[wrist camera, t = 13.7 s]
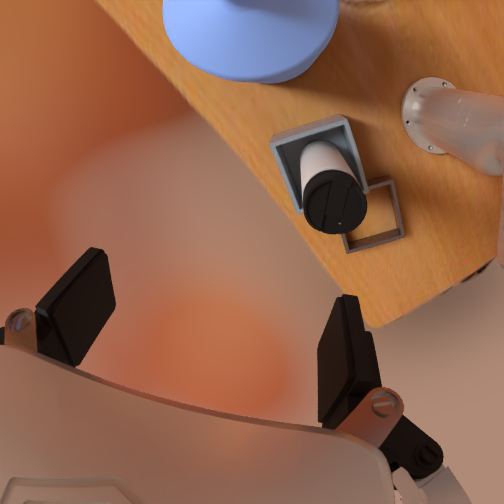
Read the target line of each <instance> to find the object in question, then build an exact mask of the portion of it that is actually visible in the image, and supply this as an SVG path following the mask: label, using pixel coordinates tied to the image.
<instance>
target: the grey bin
mask: <svg viewBox="0 0 504 504" xmlns="http://www.w3.org/2000/svg"><path fill="white" fill-rule="evenodd" d="M314 140H326V141H329V142H331V143H332V144H334V145H335V146H336V147H337V149H338V150H339V152H340V153H341V155H342V157H343V158H344V160H345V161H346V163H347V165H348V166H349V168H350V169H351V171H352V173H353V174H354V176H355V178H356V179H357V181H358V183H359V185H360V187H361V189H362V191H363V193H364V194H368V193H369V189H368V186H367V182H366V178H365V175H364V171H363V168H362V164H361V161H360V157H359V154H358V151H357V148H356V144H355V141H354V138H353V135H352V132H351V129H350V126H349V123H348V120H347V119H346V118H345V117H343V116H342V115H340V114H338V115H334V116H331V117H328V118H325V119H321V120H318V121H315V122H312V123H309V124H306V125H303V126H300V127H297V128H294V129H291V130H288V131H285V132H282V133H279V134H276V135H273V137H272V139H271V141H270V144H269V145H270V147H271V150H272V152H273V154H274V157H275V159H276V162H277V164H278V167H279V169H280V172H281V174H282V177H283V179H284V182H285V184H286V187H287V190H288V192H289V195H290V197H291V200H292V203H293V205H294V208H295V210H296V213H297V215H298V214H301V213H304V211H303V201H302V186H301V168H300V155H301V152H302V150H303V148H304V147H305V146H306V145H307V144H308V143H310V142H311V141H314Z"/></svg>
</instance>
